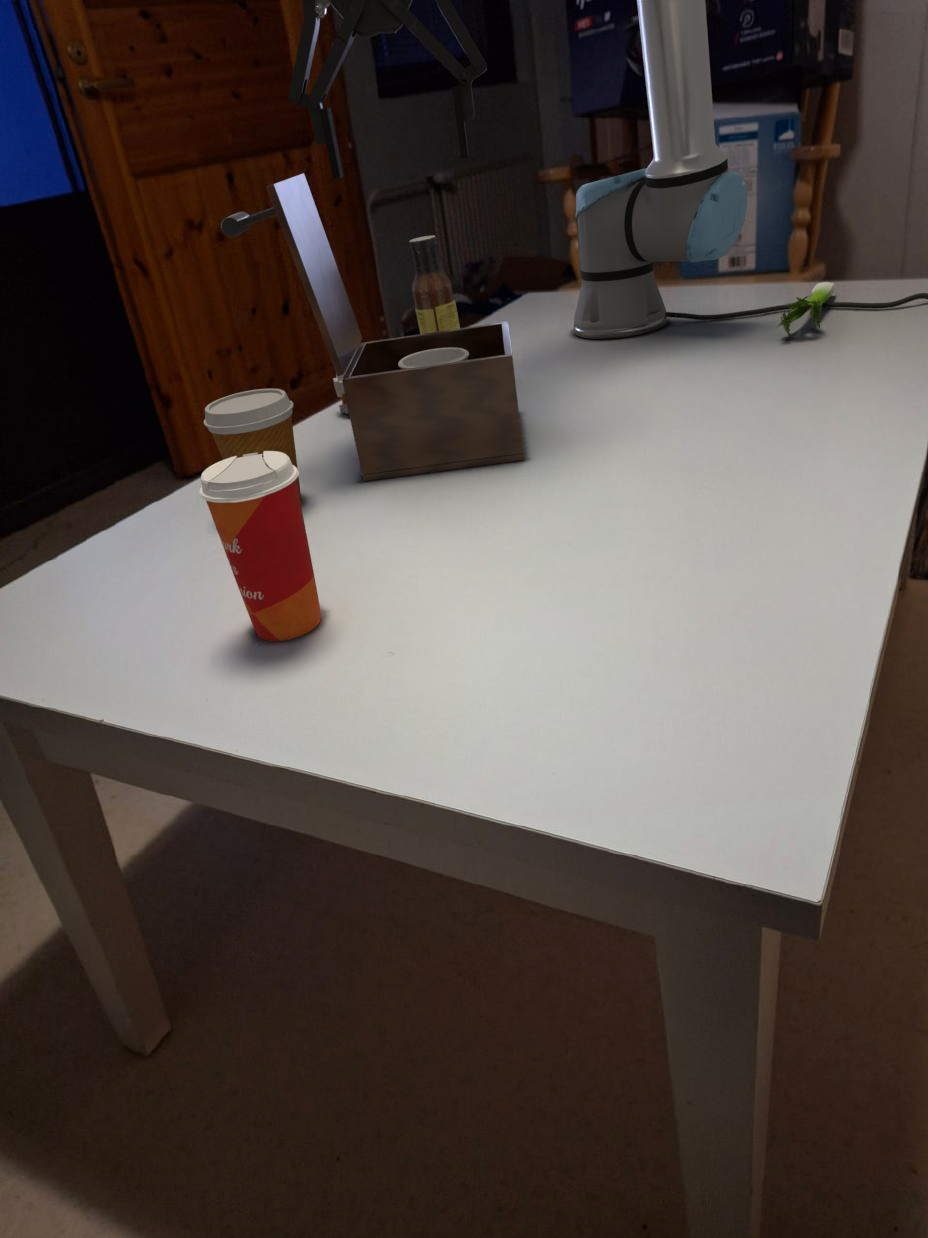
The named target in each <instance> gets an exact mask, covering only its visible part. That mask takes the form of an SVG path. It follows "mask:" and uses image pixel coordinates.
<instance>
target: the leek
mask: <svg viewBox="0 0 928 1238" xmlns="http://www.w3.org/2000/svg"><path fill="white" fill-rule="evenodd" d="M836 290H837V287H836V285H835V283H834V282H832V281H831V282H829V281H823V282H818V283H816V285H815V286H814V287H813V289H811V293H812V294H811V295H810V296H809V297H808V295H807V296H804V297H803V298H800V297H798V296H795V298H796V301H794V302H788V303H784V305H786V306H788V305H790V306H789V307H790V309H789V308H788V307H787V308H788V310H789V311H788V312H787V314H786V310H783V313H782V314H781V315H780V319H781V321H780V323H779V324H778V325H777V328H776V329H778V328H779V327H781V326H783V328H784V331H785V332H786V334H787V337H788V338H791V331H790V326H791V324H792V323H794V322H796V321H797V320H799V319H800V318H802V317H803V316H804V315H805V314H806V313H807V312H808V311H809V310H810V311H809V315H810V317H811V323H812V324H813V323H814V325H813V329H816V328H817V326H818V328H819V329H821V324H820V322H821V311H822V310H823V308H822V304H823V303H824V302H827V300H829V298H830V297H831V296H832V295H833V293H834V292H835V291H836ZM792 305H793V306H792ZM792 307H793V308H794V307H796V308H794V309H792ZM810 307H811V308H810ZM819 307H821V308H819ZM813 317H814V320H813ZM813 321H814V322H813Z"/></svg>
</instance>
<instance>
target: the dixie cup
mask: <svg viewBox="0 0 928 1238" xmlns="http://www.w3.org/2000/svg"><path fill="white" fill-rule="evenodd" d="M468 356H469V352H468V351H467V350H465V349H462V348H437V349H430V350H425V351H421V352H417V353H414V354H411V355H408V356H406V357H404V358H402V359H401V360H400V361H399V363H398V366H399V367H400V368H401V369H408V368H415V367H422V366H430V365H437V364H444V363H451V362H458V361H465V360H467V358H468Z"/></svg>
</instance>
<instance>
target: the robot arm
mask: <svg viewBox="0 0 928 1238" xmlns="http://www.w3.org/2000/svg"><path fill="white" fill-rule="evenodd" d="M301 2H302V11H303V12H302V13H303V22H302V26H301V31H300V36H299V40H298V41H299V42H298V46H297V50H296V51H297V52H296V55H295V61H294V66H293V71H292V75H291V80H290V86H289V90H288V96H287V97H288V98H287V99H288V102H289V103H290V104H292V105H295V106H299V107H302V108H303V107H304V108H305V109H307V110H308V112H309V115H310V121H311V127H312V131H313V136H314V140H315V142H316V143H317V145H326V149H327V154H328V160H329V166H330V171H331V175H332V180H336V179H338V180H339V179H342V178H343V177H344V172H343V171H344V170H343V168H342V167H343V165H342V161H341V156H340V150H339V144H338V140H337V139H338V138H337V135H336V130H335V129H336V128H335V124H334V119H333V113H332V108H331V107H323V104H324V103H325V100H326V98H327V96H328V93H329V92H330V90H331V87H332V86H333V83H334V81H335V79H336V77H337V75H338V73H339V72H340V69H341V67H342V64H343V63H344V60H345V59H346V56H347V55H348V52H349V50H350V48H351V46H352V45H353V43H354V42H355V38H356V37H357V35H358V36H360V37H363V38H365V39H368V38H373V37H375V36H377V35H380V34H387V35H392V34H397V32H399V31H400V30H401V28H402V27H403V26H405V27H406V29H407V30H409V32H410V33H412V35H413V36H414V37H415V38H416V39H417V40H418V41H419V42H420V43H421V44H422V45H423V46H424V47H425V48H426V49H427V50H428V51H429V52H430V53H431V54H432V55H433V56H434V58H436V59H437V60H438V61H439V62H440V64H441V65H442V66H443V67H444V68H445V69H447V71H449V73H450V74H451V75H452V76H453V77H454V78H455V79H456V80H457V81H458V85H455V86H451V90H452V98H453V105H454V113H455V122H456V128H457V136H458V144H459V152H460V159H461V160H462V159H468V158H470V157H469V156H470V155H469V148H468V141H467V133H466V124H465V121H470V120H474V117H475V107H474V106H475V105H474V97H473V90H472V85H473V84H472V83H473V81H474V80H475V79H477V78H479V77H480V76H481V75H483V74H485V72H486V71H487V68H488V65H487V62H486V60H485V59H484V57H483V55H482V53H481V52H480V49H479V47H478V46H477V44H476V43H475V41H474V38H472V35H471V34H470V32H469V30H468V29H467V27H466V25H465V23H464V22H463V20H462V19H461V17H460V14H458V11H457V10H456V8H455V6H454V5H453V2H452V1H451V0H435V3H436V5H437V7H438V9H439V11H440V12H441V15H442V16H443V18H444V19H445V21H446V23H447V25H448V26H449V28H450V29H451V31H452V33H453V35H454V36H455V38H456V41H458V43H459V45H460V46H461V48H462V50H463V52H464V54H465V55H466V57H467V58H468V60H469V62H470V65H468V66H466V67H464V65H462V63H460V61H458V60H457V58H456V57H455V56H454V55H452V53H451V52H450V51H449V50H448V49H447V48H446V47H445V46H444V45H443V44H442V43H441V42H440V41H439V40H438V39H437V38H436V36H434V35H433V33H431V31H430V30H429V29H428V28H427V27H426V26H425V25H424V24H423V23H422V22H421V21H420V20H419V18H417V17H416V16H415V15H414V13H412V12H411V7H412V4H413V2H414V0H301ZM636 5H637V15H638V22H639V32H640V42H641V50H642V51H641V52H642V60H643V69H644V78H645V79H644V80H645V87H646V88H645V89H646V97H647V107H648V116H649V125H650V126H649V127H650V137H651V144H652V145H651V146H652V154H653V158H652V160H651V162H650V163H649V165H648V166H647V168H646V167H645V168H642V169H638V170H634V171H630V172H627V173H623V174H618V175H616V176H611V177H607V178H604V179H600V180H596V181H592V182H588V183H585V184H582V185H580V187H579V188H578V190H577V191H576V194H575V214H574V215H575V217H574V218H575V220H576V221H575V222H576V232H577V243H578V244H577V245H578V255H579V267H580V280H581V284H580V285H581V286H580V290H579V293H578V294H579V295H578V300H577V305H576V309H575V312H574V318H573V332H574V333H573V334H574V335H576V336H577V337H579V338H584V339H591V340H605V339H607V340H608V339H620V338H627V337H628V338H629V337H635V336H640V335H644V334H647V333H651V332H654V331H656V330H659V329H662V328H663V327H664V326H665V325H667V322H668V318H674V319H675V318H676V319H687V320H695V321H715V320H716V321H717V320H727V319H733V318H741V317H748V316H755V315H762V314H766V313H772V312H779V311H786V310H787V311H788V310H792V309H794V308H796V307H794V308H793V307H792V309H790V307H789V306H790V305H788V306H786V305H785V304H779V305H773V306H769V307H767V306H766V307H762V308H755V309H749V310H742V311H734V312H728V313H718V314H717V313H716V314H695V313H686V312H674V311H667V309H666V305H665V302H664V300H663V297H662V294H661V292H660V289H659V285H658V283H657V280H656V278H655V274H654V273H655V271H654V263H655V262H657V263H658V262H660V263H661V262H690V263H694V264H695V263H700V262H707V261H716V260H719V259H722V258H723V257H724V256H725V255H727V254H728V253H729V252H730V251H731V250H732V249H733V247H734V246H735V244H736V242H737V241H738V239H739V236H740V233H741V232H742V230H743V226H744V223H745V219H746V215H747V208H748V191H747V184H746V182H745V181H744V178H743V176H742V175H741V174H739V173H738V172H735V171H733V170H732V171H731V170H729V161H728V153H727V152H725V151H724V149H722V148H721V147H719V146H718V145H717V143H716V134H715V122H714V121H715V119H714V106H713V105H714V104H713V92H712V78H711V64H710V63H711V62H710V48H709V36H708V35H709V34H708V21H707V5H706V0H636ZM330 6H332V7H333V9H334V10H335V11H336V12H337V13H338V14H339V15H340V17H341V18H342V19H343V20H342V22H341V24H340V27H339V28H338V31H337V32H336V33H337V34H336V37H335V39H334V41H333V44H332V46H331V48H330V50H329V52H328V54H327V56H326V59H325V60H324V63H323V65H322V67H321V69H320V71H319V73H318V75H317V77H316V80H315V81H314V84H313V86H312V88H311V90H310V92H309V93H307V88H308V83H309V78H310V74H311V73H310V72H311V68H312V64H313V59H314V54H315V49H316V45H317V40H318V36H319V31H320V22H321V19H323V18H325V17H326V15H327V10H328V8H329V7H330ZM921 299H923V300H928V292H918V293H915V294H911V295H909V296H906V297H904V298H901V299H898V300H894V301H889V302H851V301H832V302H831V301H829V302H827V301H825V302H824V303H823V304H822V309H823V308H827V309H829V308H830V309H833V308H836V309H837V308H845V309H846V308H849V309H889V308H895V307H898V306H899V307H900V306H902V305H905V304H907V303H910V302H912V301H917V300H921ZM792 306H793V305H792ZM787 307H788V308H789V309H788V308H787ZM819 308H821V307H819ZM810 309H811V307H810Z"/></svg>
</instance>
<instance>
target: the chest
mask: <svg viewBox="0 0 928 1238" xmlns="http://www.w3.org/2000/svg"><path fill="white" fill-rule="evenodd" d="M510 335H511V334H510V328H509V322H508V321H502V322H496V323H488V324H482V325H474V326H468V327H467V326H466V327H460V329H453V330H446V331H439V332H432V333H425V334H420V333H418V334H413V335H405V336H398V337H392V338H385V339H378V340H370V341H365V342H360V344H359V346H358V349H357V351H356V353H355V355H354V357H353V359H352V361H351V363H350V365H349V367H348V369H347V371H346V373H345V375H344V376H343V379H342V383H343V387H344V392H345V397H346V402H347V407H348V411H349V414H348V416H349V421H350V425H351V430H352V434H353V440H354V444H355V450H356V455H357V458H358V463H359V468H360V473H361V476H362V477H361V478H362V481H363V482H368V481H375V480H376V481H377V480H384V479H390V478H399V477H405V476H413V475H421V474H422V475H423V474H429V473H436V472H443V471H450V470H458V469H459V470H460V469H468V468H475V467H481V466H482V467H483V466H490V465H496V464H505V463H512V462H519V461H524V460H525V453H524V443H523V436H522V428H521V418H520V409H519V400H518V393H517V385H516V376H515V365H514V358H513V350H512V342H511V337H510ZM437 348H462V349H465V350H467V351H468V352H469V356H468V358H467V360H465V361H458V362H451V363H444V364H437V365H430V366H422V367H415V368H408V369H401V368H400V367H399V366H398V363H399V361H400V360H401V359H402V358H404V357H406V356H408V355H411V354H414V353H417V352H421V351H425V350H430V349H437Z"/></svg>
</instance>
